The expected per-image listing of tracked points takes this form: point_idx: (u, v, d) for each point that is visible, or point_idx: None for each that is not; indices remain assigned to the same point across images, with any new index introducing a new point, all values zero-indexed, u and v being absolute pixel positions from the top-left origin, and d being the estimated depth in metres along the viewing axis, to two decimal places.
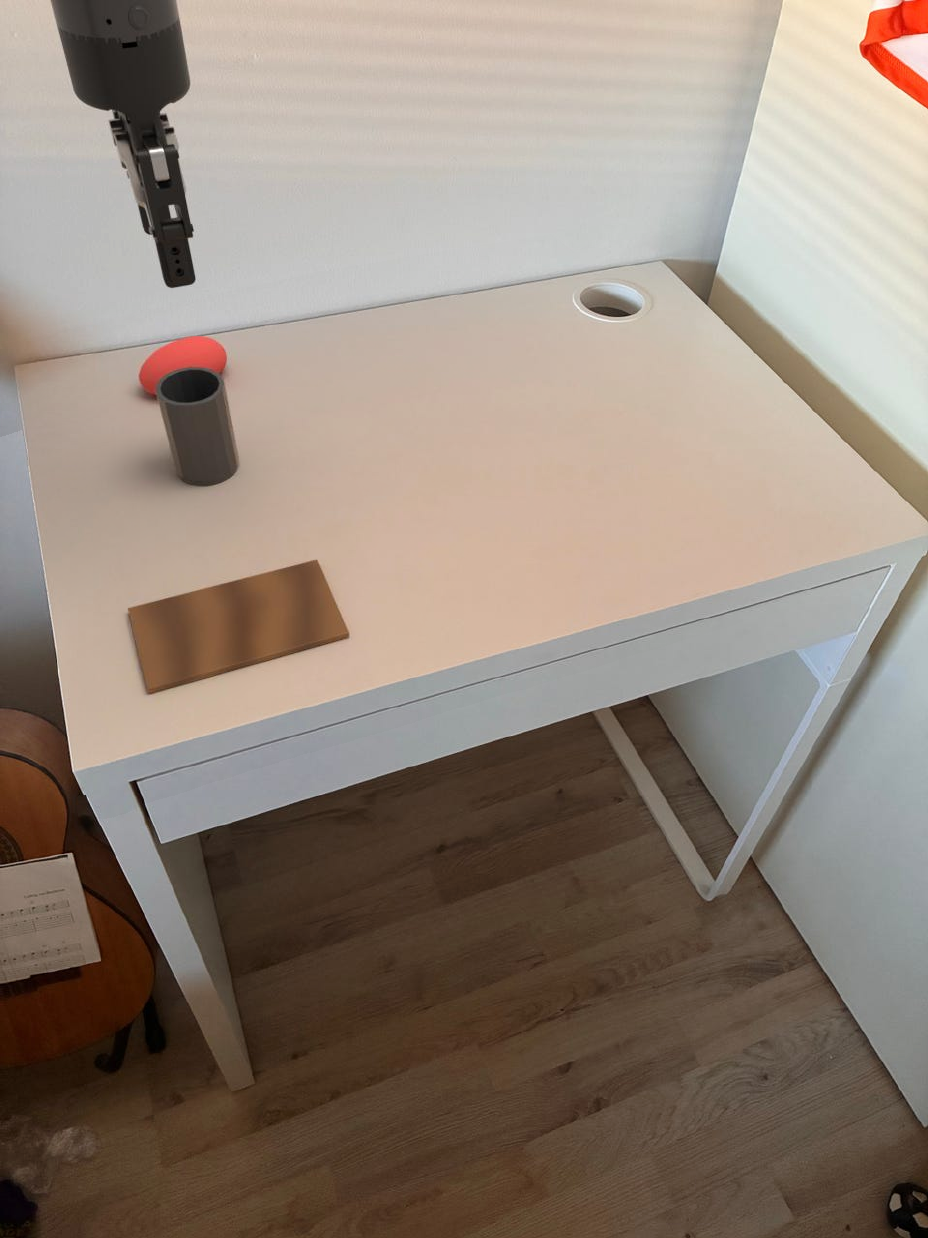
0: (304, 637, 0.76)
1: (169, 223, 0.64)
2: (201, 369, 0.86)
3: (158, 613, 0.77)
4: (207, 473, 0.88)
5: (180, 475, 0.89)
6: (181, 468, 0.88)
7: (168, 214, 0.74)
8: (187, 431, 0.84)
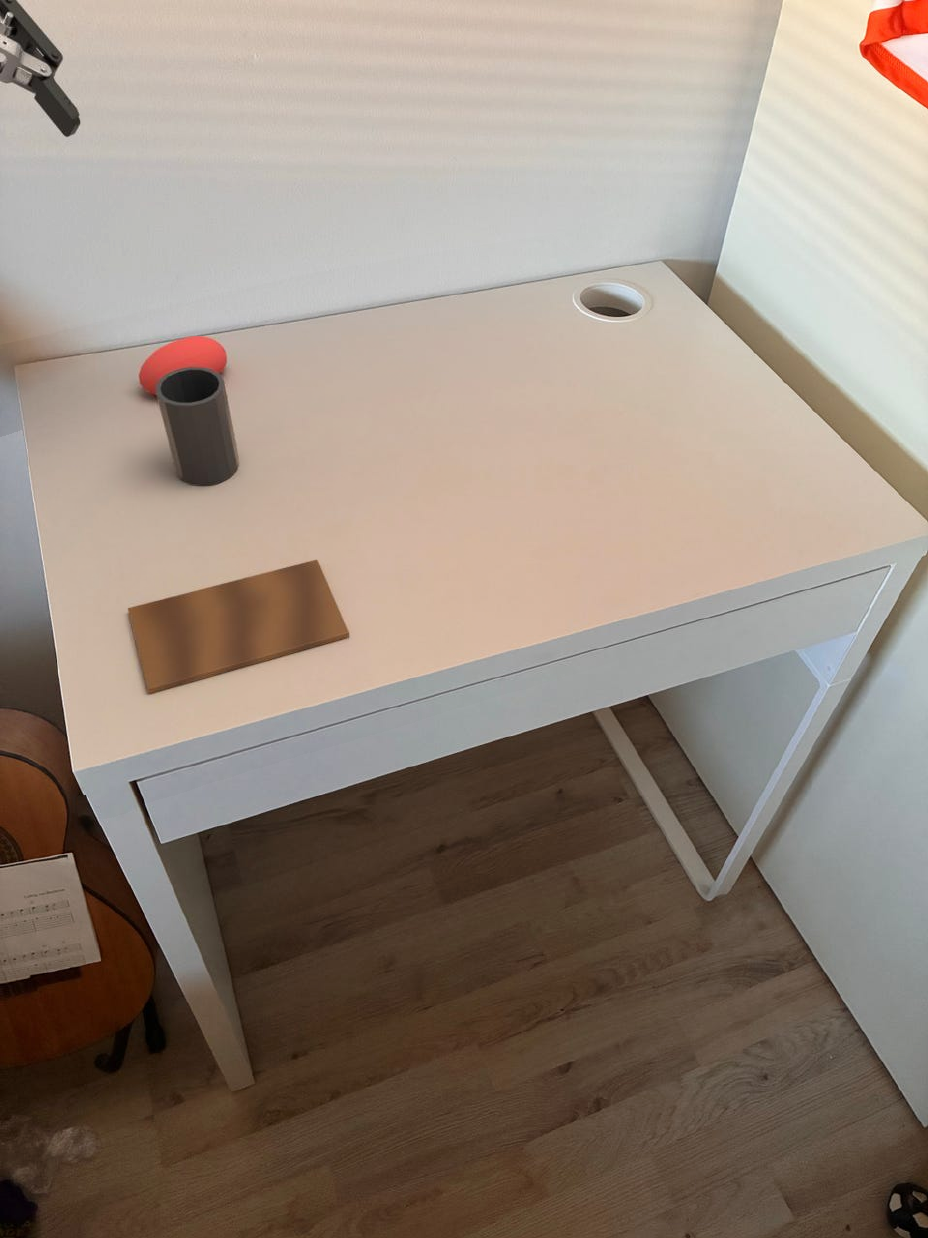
0: (304, 637, 0.76)
1: None
2: (201, 369, 0.86)
3: (158, 613, 0.77)
4: (207, 473, 0.88)
5: (180, 475, 0.89)
6: (181, 468, 0.88)
7: None
8: (187, 431, 0.84)
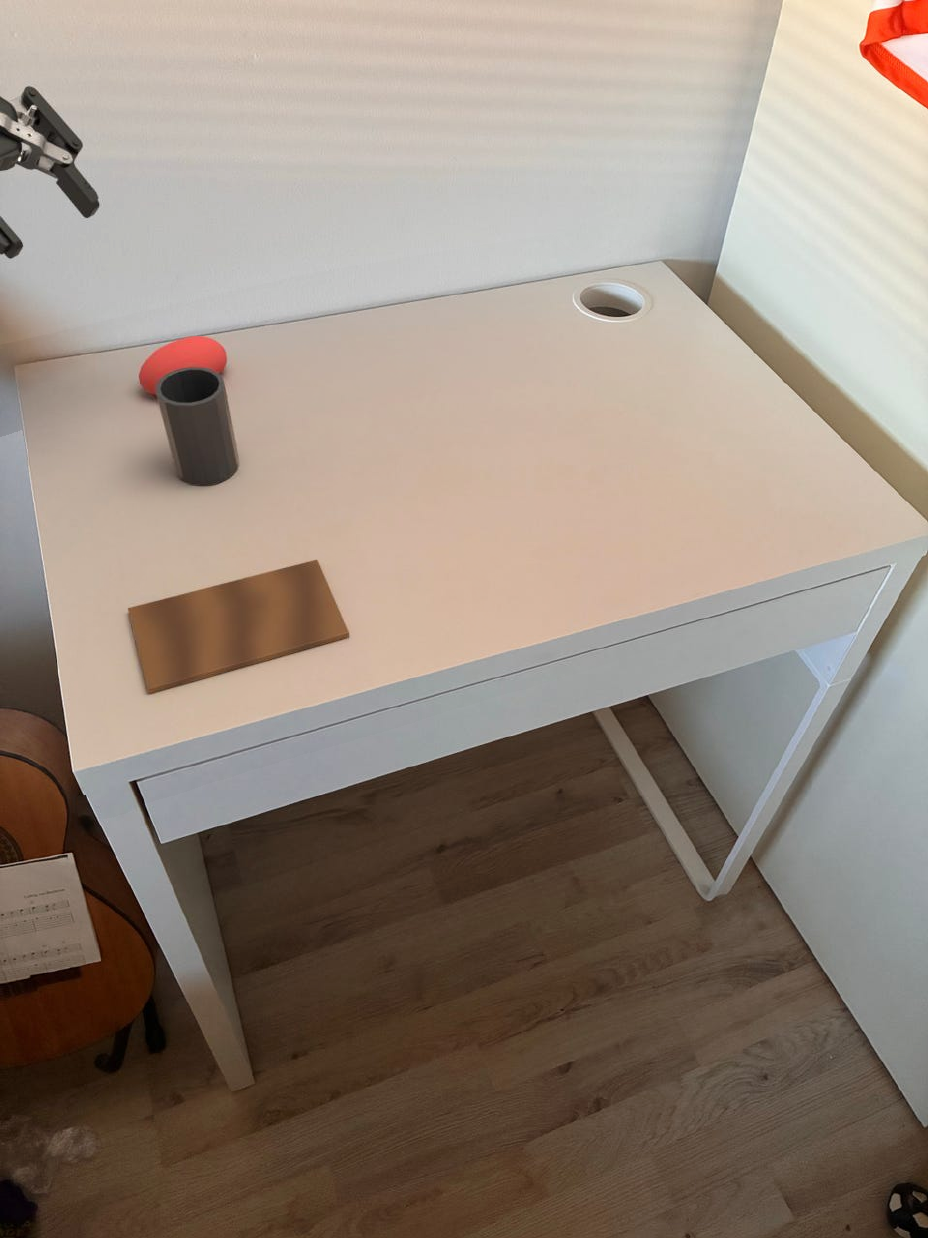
0: (304, 637, 0.76)
1: None
2: (201, 369, 0.86)
3: (158, 613, 0.77)
4: (207, 473, 0.88)
5: (180, 475, 0.89)
6: (181, 468, 0.88)
7: None
8: (187, 431, 0.84)
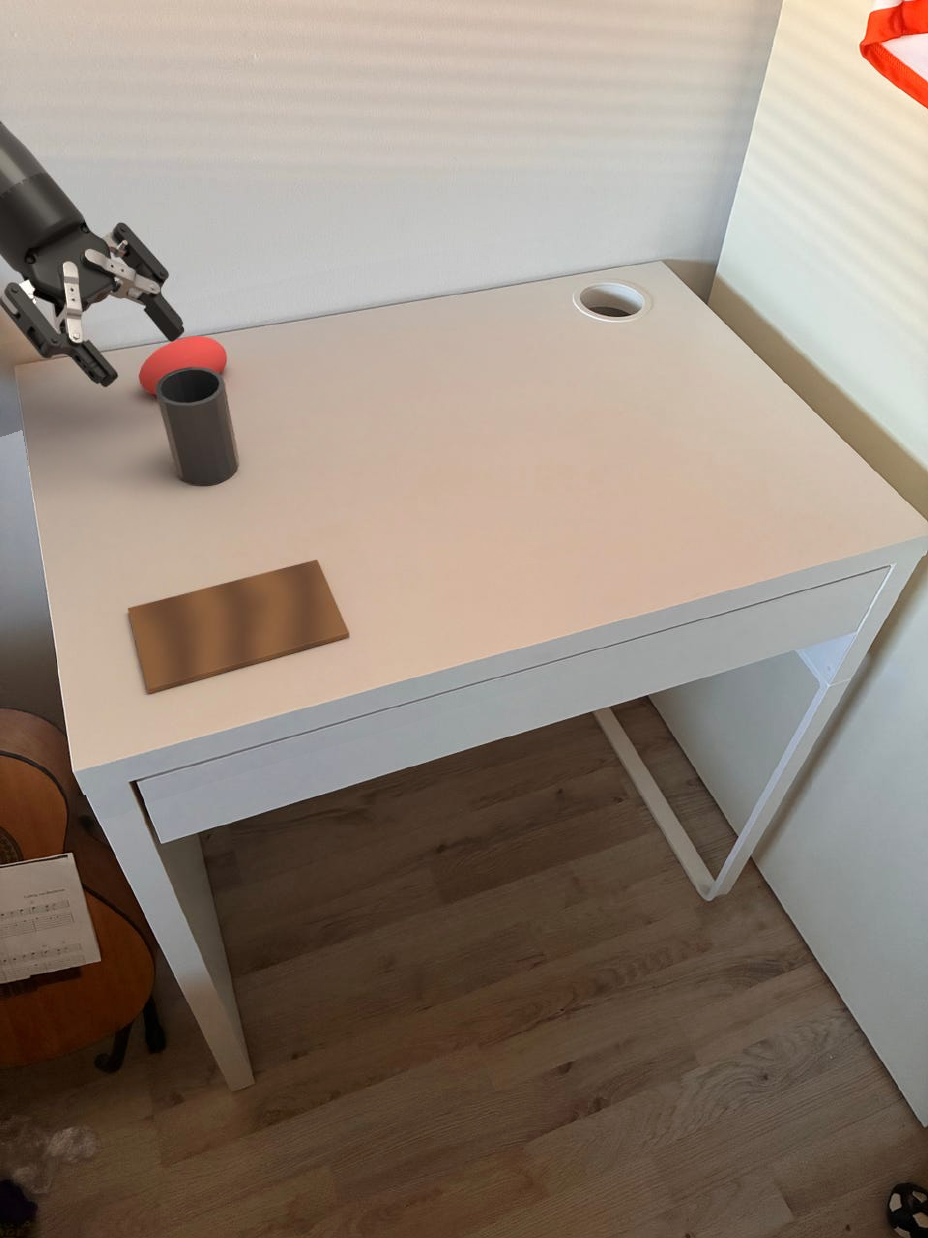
0: (304, 637, 0.76)
1: None
2: (201, 369, 0.86)
3: (158, 613, 0.77)
4: (207, 473, 0.88)
5: (180, 475, 0.89)
6: (181, 468, 0.88)
7: None
8: (187, 431, 0.84)
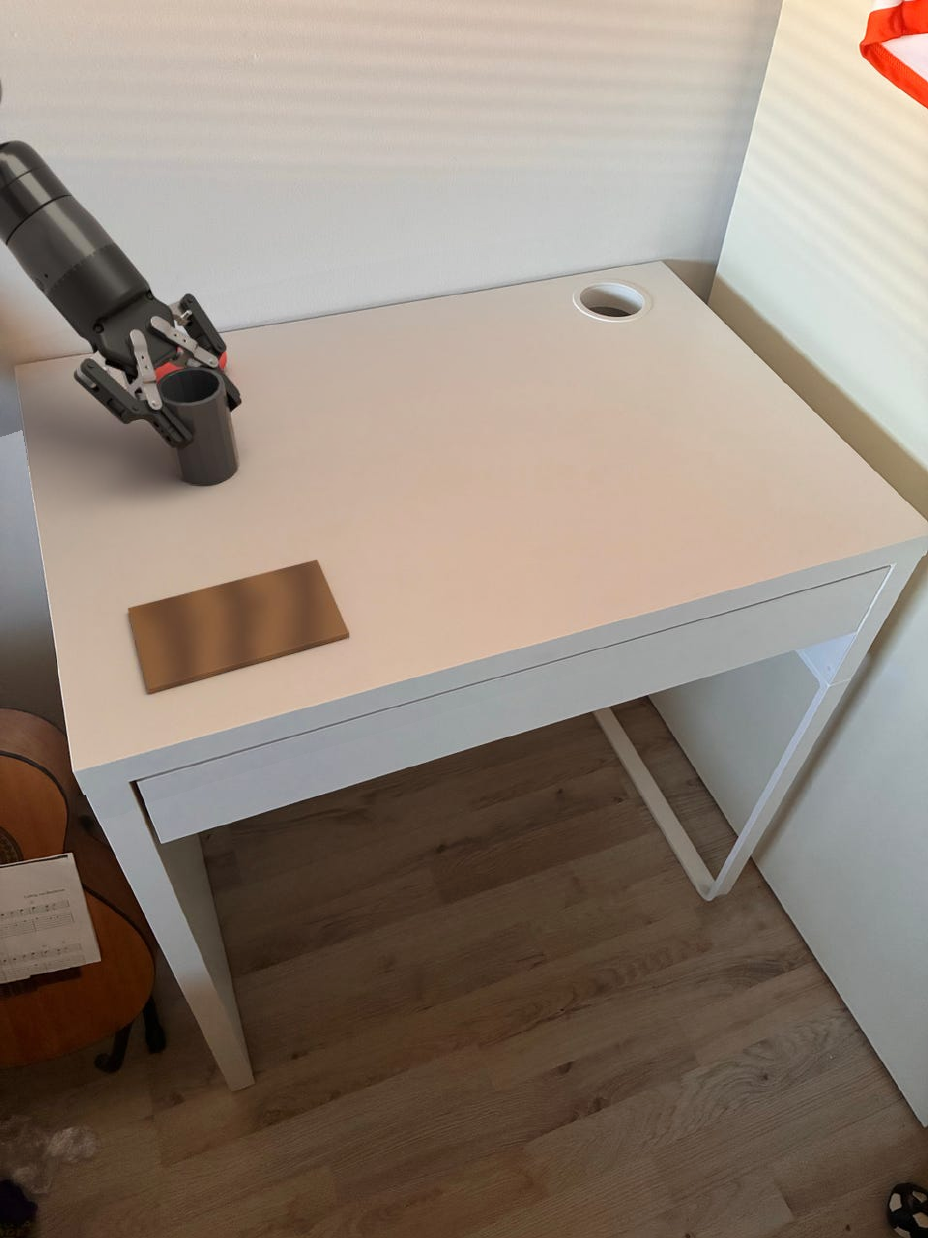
0: (304, 637, 0.76)
1: None
2: (201, 369, 0.86)
3: (158, 613, 0.77)
4: (207, 473, 0.88)
5: (180, 475, 0.89)
6: (181, 468, 0.88)
7: None
8: None
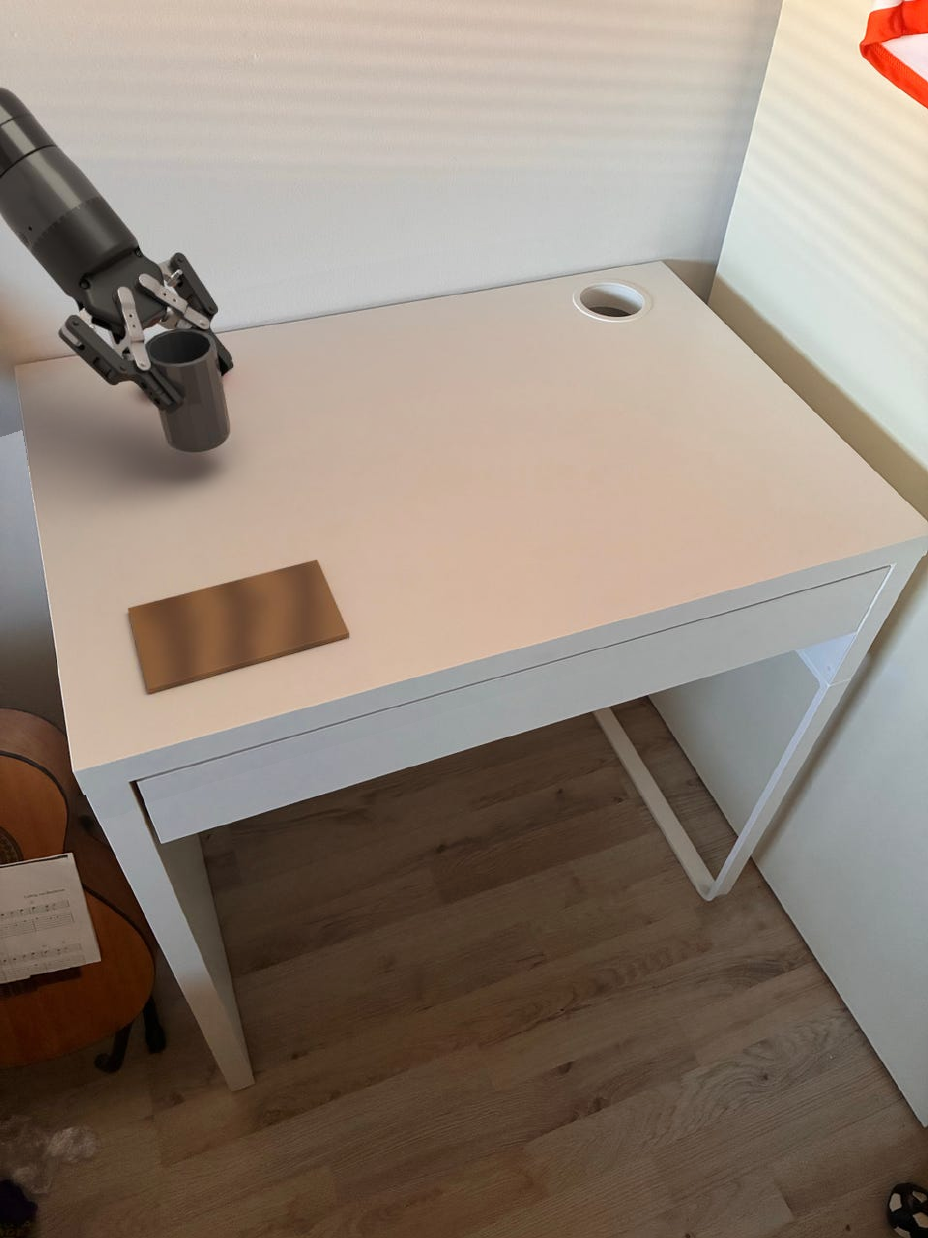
0: (304, 637, 0.76)
1: None
2: (192, 331, 0.83)
3: (158, 613, 0.77)
4: (197, 439, 0.85)
5: (169, 442, 0.86)
6: (170, 434, 0.85)
7: None
8: None
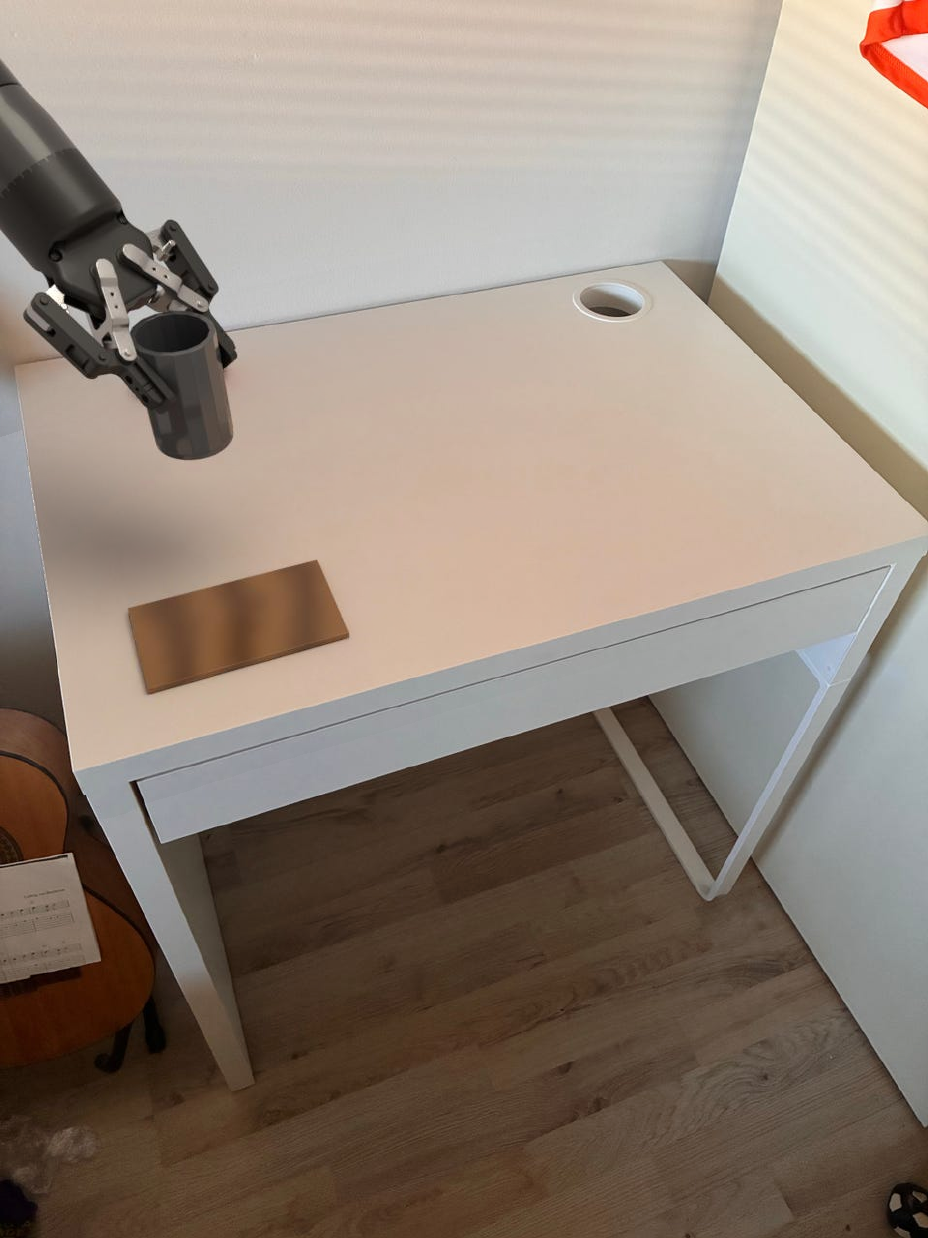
0: (304, 637, 0.76)
1: None
2: (187, 313, 0.69)
3: (158, 613, 0.77)
4: (194, 444, 0.71)
5: (160, 447, 0.72)
6: (162, 438, 0.71)
7: None
8: None
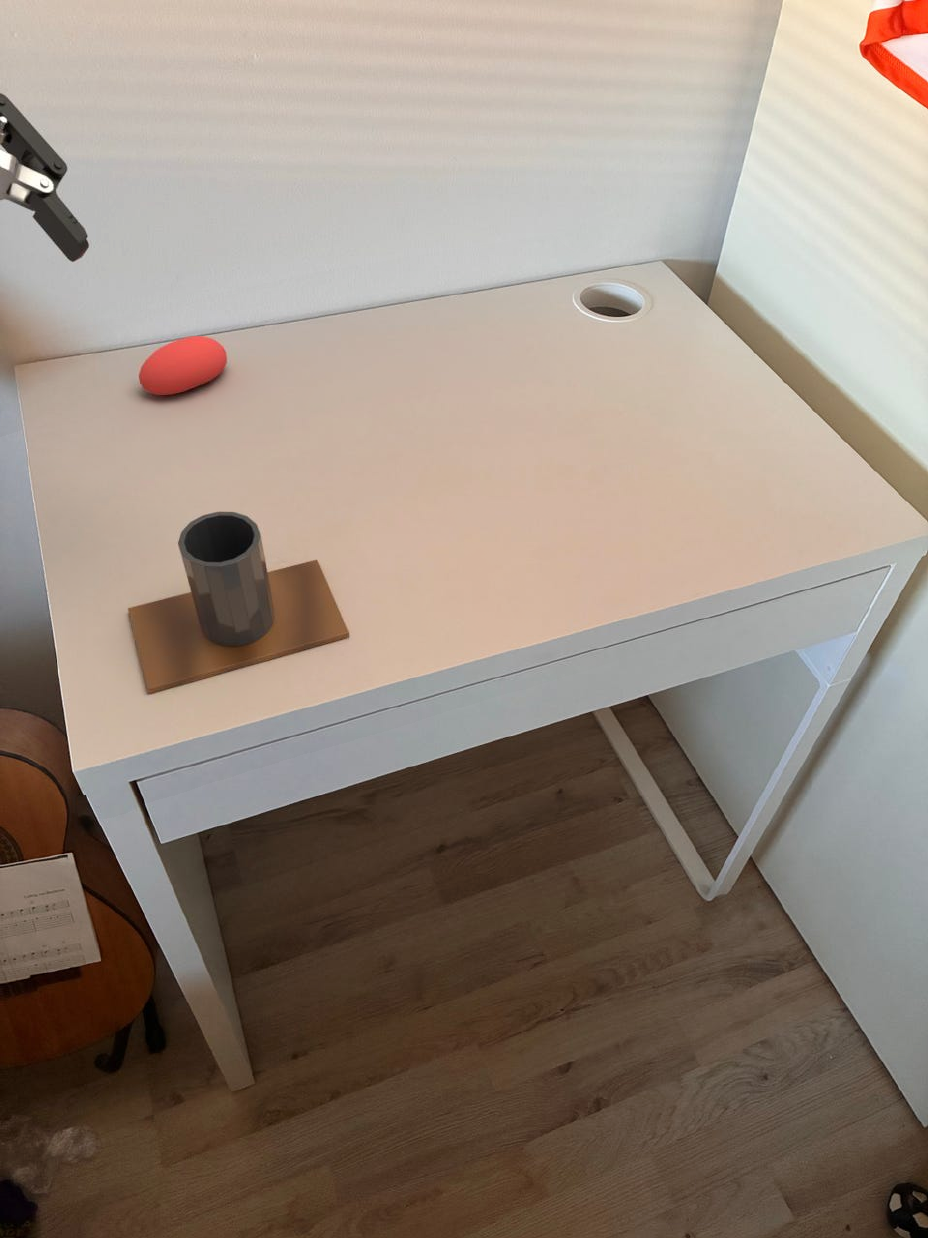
0: (304, 637, 0.76)
1: None
2: (232, 515, 0.72)
3: (158, 613, 0.77)
4: (238, 634, 0.74)
5: (206, 634, 0.75)
6: (207, 628, 0.74)
7: None
8: (216, 592, 0.71)
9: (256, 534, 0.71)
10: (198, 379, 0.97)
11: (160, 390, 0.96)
